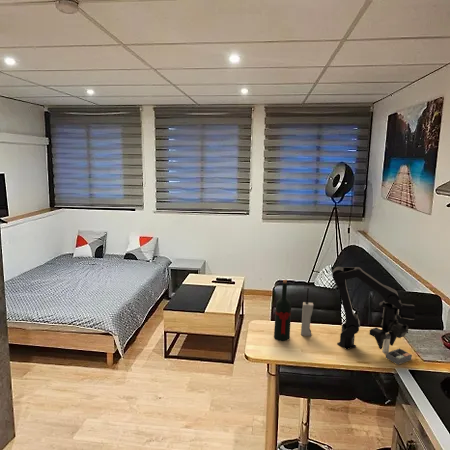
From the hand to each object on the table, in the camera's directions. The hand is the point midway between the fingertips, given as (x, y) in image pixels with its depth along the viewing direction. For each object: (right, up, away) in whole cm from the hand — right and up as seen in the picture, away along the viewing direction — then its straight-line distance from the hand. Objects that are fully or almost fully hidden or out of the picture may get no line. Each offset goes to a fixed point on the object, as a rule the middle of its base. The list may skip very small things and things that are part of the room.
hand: (385, 347), depth 182 cm
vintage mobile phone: (-34, +1, +16) cm, 38 cm away
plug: (0, -3, 0) cm, 2 cm away
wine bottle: (-48, +1, +11) cm, 49 cm away
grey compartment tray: (+3, -4, -6) cm, 7 cm away
